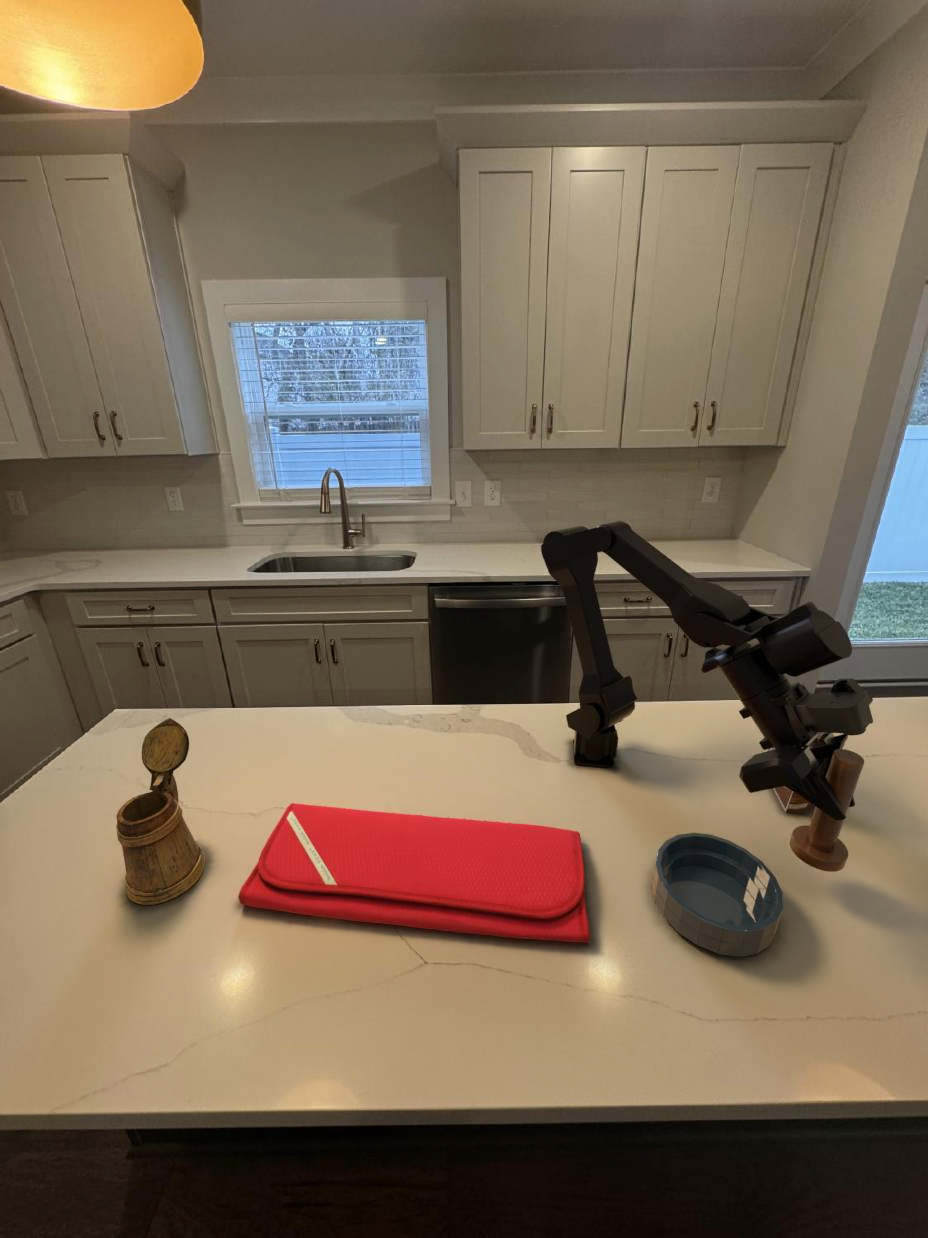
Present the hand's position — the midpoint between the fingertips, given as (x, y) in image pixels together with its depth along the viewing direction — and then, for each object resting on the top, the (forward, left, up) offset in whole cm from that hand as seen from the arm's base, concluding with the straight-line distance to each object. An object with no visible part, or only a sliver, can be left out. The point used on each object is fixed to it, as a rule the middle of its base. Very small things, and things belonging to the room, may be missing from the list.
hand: (846, 813), depth 57 cm
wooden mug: (-81, -8, -12) cm, 83 cm away
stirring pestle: (-1, +1, -7) cm, 7 cm away
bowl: (-13, -4, -12) cm, 19 cm away
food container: (+5, +18, -12) cm, 22 cm away
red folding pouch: (-49, -5, -12) cm, 50 cm away
